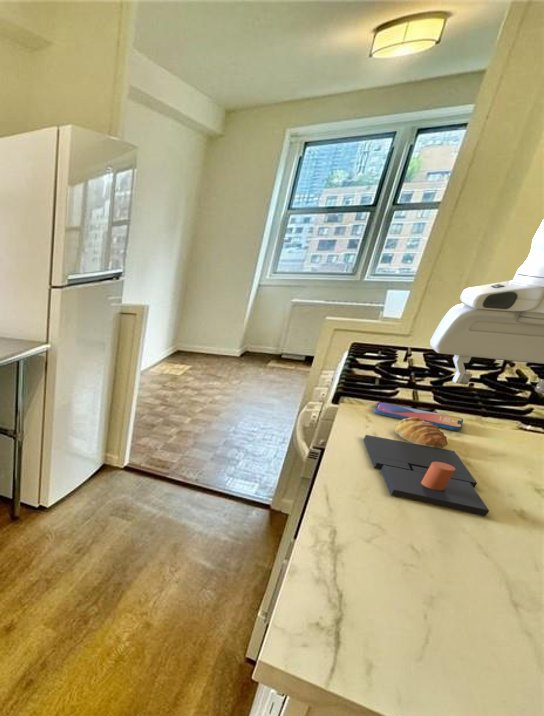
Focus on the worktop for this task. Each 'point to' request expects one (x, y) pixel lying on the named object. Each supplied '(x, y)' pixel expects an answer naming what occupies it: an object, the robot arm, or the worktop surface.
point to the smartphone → (419, 415)
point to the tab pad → (429, 496)
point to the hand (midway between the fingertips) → (499, 387)
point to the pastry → (421, 432)
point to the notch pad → (413, 456)
